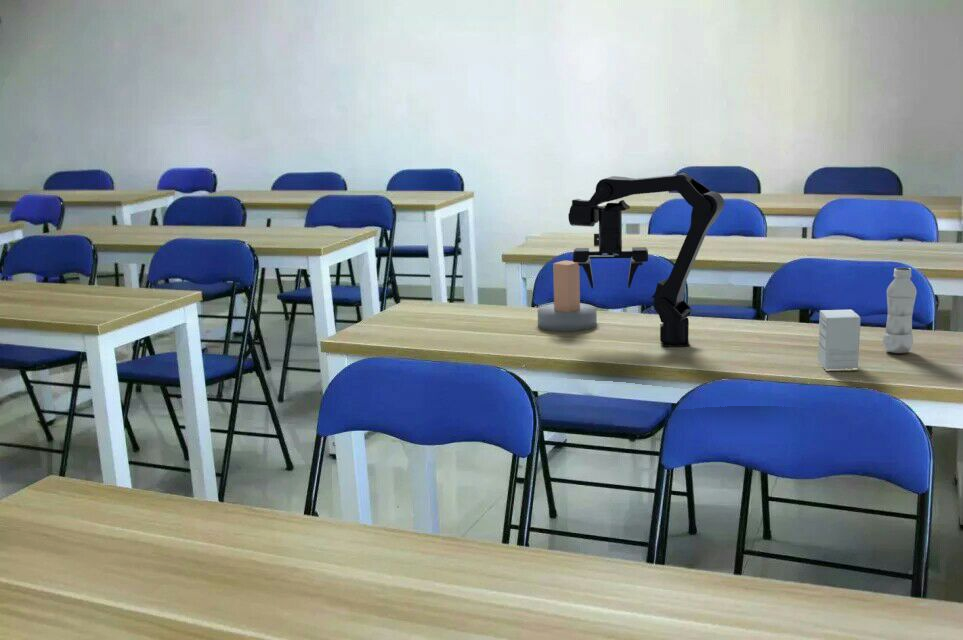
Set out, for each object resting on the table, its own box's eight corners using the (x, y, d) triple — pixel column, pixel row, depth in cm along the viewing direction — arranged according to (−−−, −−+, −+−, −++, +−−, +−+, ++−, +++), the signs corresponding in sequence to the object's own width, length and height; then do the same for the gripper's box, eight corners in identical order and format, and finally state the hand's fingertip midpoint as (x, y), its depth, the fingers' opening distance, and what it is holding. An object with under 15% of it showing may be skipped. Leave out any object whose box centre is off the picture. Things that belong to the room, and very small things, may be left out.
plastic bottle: (875, 350, 238) (880, 268, 233) (898, 347, 240) (903, 265, 235) (895, 357, 232) (901, 272, 227) (918, 353, 234) (924, 269, 229)
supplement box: (849, 362, 230) (852, 308, 227) (858, 371, 223) (861, 316, 220) (816, 362, 231) (819, 309, 227) (824, 372, 223) (826, 317, 220)
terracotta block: (580, 309, 273) (579, 262, 270) (568, 312, 269) (567, 265, 266) (565, 306, 276) (564, 260, 273) (554, 310, 273) (553, 263, 270)
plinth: (597, 316, 280) (597, 302, 279) (596, 331, 265) (595, 316, 264) (540, 316, 282) (539, 303, 281) (535, 331, 267) (535, 316, 266)
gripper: (647, 221, 258) (646, 281, 262) (574, 223, 261) (575, 281, 264) (648, 228, 247) (648, 290, 251) (572, 229, 250) (573, 291, 254)
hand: (610, 288), depth 255 cm, fingers open, 9 cm apart
